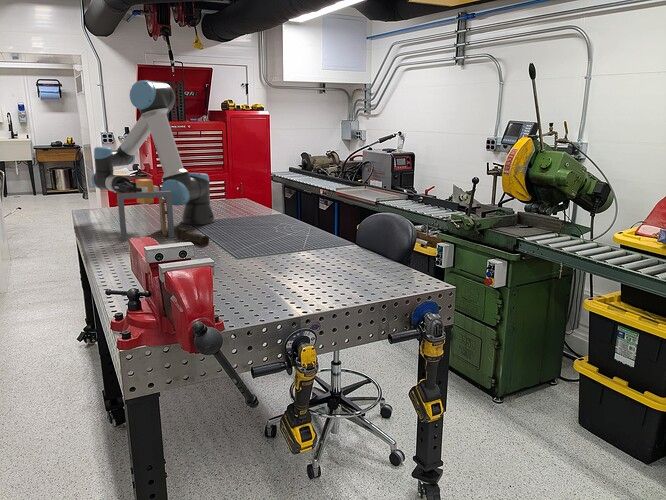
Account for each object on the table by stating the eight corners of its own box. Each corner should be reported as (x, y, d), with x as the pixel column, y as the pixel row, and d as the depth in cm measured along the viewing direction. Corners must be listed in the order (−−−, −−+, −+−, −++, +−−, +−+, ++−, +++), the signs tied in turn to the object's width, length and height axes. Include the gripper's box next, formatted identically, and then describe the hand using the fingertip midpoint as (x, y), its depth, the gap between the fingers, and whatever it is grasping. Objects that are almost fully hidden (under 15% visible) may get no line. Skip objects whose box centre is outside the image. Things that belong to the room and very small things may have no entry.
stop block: (136, 202, 219) (135, 179, 216) (146, 201, 223) (145, 178, 220) (144, 204, 216) (143, 181, 214) (154, 202, 220) (153, 180, 218)
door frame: (173, 235, 211) (170, 190, 206) (174, 236, 209) (171, 191, 204) (121, 240, 201) (116, 193, 196) (122, 241, 200) (117, 194, 195)
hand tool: (210, 245, 198) (209, 233, 197) (201, 246, 195) (200, 235, 194) (183, 236, 210) (183, 226, 209) (175, 238, 208) (174, 227, 206)
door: (170, 234, 210) (168, 201, 206) (163, 235, 209) (161, 202, 205) (167, 228, 222) (165, 196, 218) (161, 228, 221) (158, 197, 217)
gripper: (135, 190, 235) (170, 196, 224) (101, 194, 220) (135, 201, 209) (135, 174, 233) (169, 179, 222) (99, 177, 218) (134, 183, 207)
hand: (152, 190), depth 215 cm, fingers closed on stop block, 5 cm apart
